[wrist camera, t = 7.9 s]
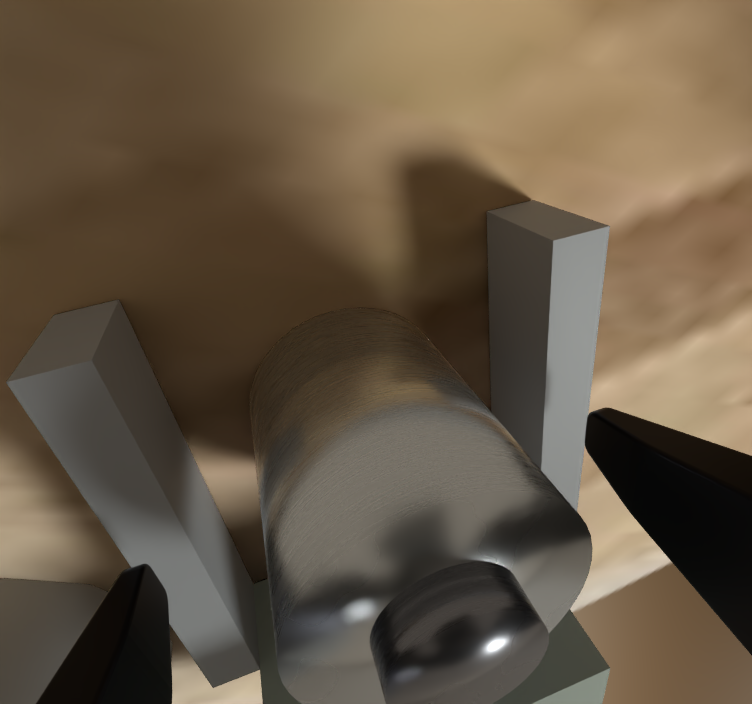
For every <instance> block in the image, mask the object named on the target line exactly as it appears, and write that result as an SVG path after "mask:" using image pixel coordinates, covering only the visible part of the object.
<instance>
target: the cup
mask: <svg viewBox="0 0 752 704" xmlns="http://www.w3.org/2000/svg"><path fill="white" fill-rule="evenodd" d="M107 593H108V592H107V591H105V590H102V589H100V588H97V587H95V586H93V585H90V584H78V583H64V582H50V581H36V580H22V579H8V578H4V579H0V704H36V702H37V701H38V699H39V698H40V696H41V695H42V693H43V692H44V690H45V688H46V687H47V685H48V684H49V682H50V681H51V679H52V678H53V676H54V675H55V673H56V672H57V670H58V668H59V667H60V665H61V664H62V662H63V661H64V659H65V658H66V656H67V655H68V653H69V651H70V650H71V648H72V647H73V645H74V644H75V642H76V641H77V639H78V638H79V636H80V635H81V633H82V631H83V630H84V628H85V627H86V625H87V624H88V622H89V621H90V619H91V618H92V616H93V615H94V613H95V611H96V610H97V608H98V607H99V605H100V604H101V602H102V601H103V599H104V598H105V596H106V595H107ZM172 644H173V643H172V641H171V640H170V648H171V658H172Z"/></svg>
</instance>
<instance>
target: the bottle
mask: <svg viewBox="0 0 752 704" xmlns="http://www.w3.org/2000/svg"><path fill="white" fill-rule="evenodd" d="M249 408H250V418H251V427H252V436H253V445H254V454H255V463H256V473H257V482H258V491H259V500H260V509H261V518H262V528H263V537H264V546H265V555H266V564H267V573H268V583H269V592H270V601H271V610H272V619H273V628H274V638H275V647H276V656H277V665H278V672H279V675H280V678H281V681H282V683H283V685H284V686H285V688H286V689H287V691H288V692H289V694H290V695H292V696H293V697H294V698H295V699H296V700H297V701H298V702H300V703H301V704H493V703H494V702H496V701H498V700H499V699H501V698H502V697H504V696H505V695H507V694H508V693H510V692H511V691H512V690H514V689H515V688H516V687H517V686H519V685H520V684H521V683H522V682H523V681H524V680H525V679H526V678H527V677H528V676H529V675H530V674H531V673H532V672H533V671H534V670H535V668H536V667H537V666H538V665H539V663H540V662H541V660H542V659H543V657H544V655H545V653H546V650H547V648H548V644H549V633H550V632H551V631H552V630H553V629H554V627H555V626H556V625H557V624H558V623H559V622H560V621H561V619H562V618H563V617H564V616H565V615H566V613H567V612H568V611H569V609H570V608H571V606H572V605H573V603H574V602H575V600H576V599H577V597H578V595H579V593H580V591H581V590H582V588H583V586H584V583H585V581H586V578H587V576H588V573H589V569H590V565H591V561H592V542H591V535H590V533H589V530H588V528H587V525H586V524H585V522H584V521H583V519H582V518H581V516H580V515H579V514H578V513H577V511H576V510H575V509H574V508H573V507H572V506H571V504H570V503H569V502H568V501H567V500H566V499H565V497H564V496H563V495H562V494H561V493H560V492H559V490H558V489H557V488H556V487H555V486H554V485H553V483H552V482H551V481H550V480H549V479H548V478H547V476H546V475H545V474H544V473H543V472H542V471H541V469H540V468H539V467H538V466H537V465H536V464H535V462H534V461H533V460H532V459H531V458H530V457H529V455H528V454H527V453H526V452H525V451H524V450H523V448H522V447H521V446H520V445H519V444H518V443H517V441H516V440H515V439H514V438H513V437H512V436H511V434H510V433H509V432H508V431H507V430H506V429H505V427H504V426H503V425H502V424H501V423H500V422H499V420H498V419H497V418H496V417H495V416H494V415H493V413H492V412H491V411H490V410H489V409H488V408H487V406H486V405H485V404H484V403H483V402H482V401H481V399H480V398H479V397H478V396H477V395H476V394H475V392H474V391H473V390H472V389H471V388H470V387H469V385H468V384H467V383H466V382H465V381H464V380H463V378H462V377H461V376H460V375H459V374H458V373H457V371H456V370H455V369H454V368H453V367H452V366H451V364H450V363H449V362H448V361H447V360H446V359H445V357H444V356H443V355H442V354H441V353H440V352H439V350H438V349H437V348H436V347H435V346H434V345H433V343H432V342H431V341H430V340H429V339H428V338H427V336H426V335H425V334H424V333H423V332H422V331H421V330H420V329H419V328H418V327H417V326H415V325H414V324H413V323H411V322H410V321H408V320H407V319H405V318H403V317H401V316H399V315H397V314H394V313H391V312H388V311H384V310H379V309H373V308H348V309H341V310H336V311H331V312H328V313H325V314H322V315H319V316H317V317H314V318H312V319H310V320H308V321H306V322H304V323H302V324H301V325H299V326H297V327H296V328H294V329H293V330H291V331H290V332H289V333H287V334H286V335H285V336H284V337H282V338H281V339H280V340H279V341H278V342H277V343H276V344H275V345H274V346H273V347H272V348H271V350H270V351H269V352H268V354H267V355H266V356H265V358H264V359H263V361H262V363H261V364H260V366H259V368H258V370H257V372H256V375H255V377H254V380H253V383H252V387H251V392H250V402H249Z"/></svg>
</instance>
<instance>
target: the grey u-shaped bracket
mask: <svg viewBox="0 0 752 704" xmlns="http://www.w3.org/2000/svg"><path fill="white" fill-rule="evenodd" d="M609 228H610V226H608V225H605V224H602V223H599V222H596V221H593V220H590V219H588V218H585V217H582V216H579V215H576V214H573V213H570V212H567V211H564V210H561V209H558V208H555V207H552V206H549V205H546V204H544V203H541V202H538V201H535V200H532V201H528V202H524V203H520V204H515V205H511V206H507V207H503V208H499V209H495V210H490V211H487V246H488V291H489V336H490V382H491V412H492V413H493V415H494V416H495V417H496V418H497V419H498V420H499V422H500V423H501V424H502V425H503V426H504V427H505V429H506V430H507V431H508V432H509V433H510V434H511V436H512V437H513V438H514V439H515V440H516V441H517V443H518V444H519V445H520V446H521V447H522V448H523V450H524V451H525V452H526V453H527V454H528V455H529V457H530V458H531V459H532V460H533V461H534V462H535V464H536V465H537V466H538V467H539V468H540V469H541V471H542V472H543V473H544V474H545V475H546V476H547V478H548V479H549V480H550V481H551V482H552V483H553V485H554V486H555V487H556V488H557V489H558V490H559V492H560V493H561V494H562V495H563V496H564V497H565V499H566V500H567V501H568V502H569V503H570V504H571V506H572V507H573V508H574V509H575V510H576V511H577V507H578V498H579V489H580V480H581V472H582V463H583V454H584V446H585V432H586V423H587V416H588V411H589V402H590V393H591V385H592V376H593V367H594V359H595V350H596V341H597V333H598V324H599V315H600V307H601V298H602V289H603V280H604V272H605V263H606V254H607V246H608V237H609ZM6 383H7V385H8V386H9V388H10V389H11V391H12V392H13V393H14V395H15V396H16V398H17V399H18V401H19V402H20V404H21V405H22V407H23V408H24V410H25V411H26V413H27V414H28V416H29V417H30V419H31V420H32V422H33V423H34V424H35V426H36V427H37V429H38V430H39V432H40V433H41V435H42V436H43V438H44V439H45V441H46V442H47V444H48V445H49V447H50V448H51V450H52V451H53V453H54V454H55V455H56V457H57V458H58V460H59V461H60V463H61V464H62V466H63V467H64V469H65V470H66V472H67V473H68V475H69V476H70V478H71V479H72V481H73V482H74V484H75V485H76V486H77V488H78V489H79V491H80V492H81V494H82V495H83V497H84V498H85V500H86V501H87V503H88V504H89V506H90V507H91V509H92V510H93V512H94V513H95V515H96V516H97V517H98V519H99V520H100V522H101V523H102V525H103V526H104V528H105V529H106V531H107V532H108V534H109V535H110V537H111V538H112V540H113V541H114V543H115V544H116V546H117V547H118V548H119V550H120V551H121V553H122V554H123V556H124V557H125V559H126V560H127V562H128V563H129V565H130V566H131V568H132V567H135V566H138V565H141V564H148V565H150V567H151V568H152V569H153V571H154V572H155V574H156V576H157V577H158V579H159V580H160V582H161V583H162V585H163V586H164V588H165V590H166V593H167V597H168V606H169V624H170V625H171V627H172V628H173V630H174V631H175V633H176V634H177V636H178V637H179V638H180V640H181V641H182V643H183V644H184V646H185V647H186V649H187V650H188V652H189V653H190V655H191V656H192V658H193V659H194V661H195V662H196V664H197V665H198V667H199V668H200V669H201V671H202V672H203V674H204V675H205V677H206V678H207V680H208V681H209V683H210V684H211V686H212V687H213V688H214V687H217V686H219V685H222V684H224V683H227V682H229V681H232V680H234V679H237V678H239V677H242V676H245V675H247V674H250V673H252V672H255V671H257V670H260V674H261V686H262V699H263V704H301V703H300V702H298V701H297V700H296V699H295V698H294V697H293V696H292V695H290V694H289V692H288V691H287V689H286V688H285V686H284V685H283V683H282V681H281V678H280V675H279V672H278V665H277V656H276V647H275V638H274V628H273V619H272V610H271V601H270V592H269V583H268V579H266V580H263V581H260V582H257V583H255V584H253V583H252V580H251V578H250V576H249V574H248V572H247V570H246V568H245V566H244V563H243V561H242V559H241V557H240V555H239V553H238V551H237V549H236V547H235V544H234V542H233V540H232V538H231V536H230V534H229V532H228V530H227V527H226V525H225V523H224V521H223V519H222V517H221V515H220V513H219V510H218V508H217V506H216V504H215V502H214V500H213V498H212V496H211V494H210V491H209V489H208V487H207V485H206V483H205V481H204V479H203V477H202V474H201V472H200V470H199V468H198V466H197V464H196V462H195V460H194V457H193V455H192V453H191V451H190V449H189V447H188V445H187V443H186V441H185V438H184V436H183V434H182V432H181V430H180V428H179V426H178V424H177V421H176V419H175V417H174V415H173V413H172V411H171V409H170V407H169V405H168V402H167V400H166V398H165V396H164V394H163V392H162V390H161V388H160V385H159V383H158V381H157V379H156V377H155V375H154V373H153V371H152V368H151V366H150V364H149V362H148V360H147V358H146V356H145V354H144V352H143V349H142V347H141V345H140V343H139V341H138V339H137V337H136V335H135V332H134V330H133V328H132V326H131V324H130V322H129V320H128V318H127V315H126V313H125V311H124V309H123V307H122V305H121V303H120V301H119V300H115V301H110V302H106V303H102V304H98V305H94V306H90V307H85V308H81V309H77V310H73V311H69V312H64V313H60V314H56V315H54V316H53V317H52V318H51V320H50V321H49V323H48V324H47V325H46V327H45V328H44V330H43V331H42V332H41V334H40V335H39V337H38V338H37V339H36V341H35V342H34V344H33V345H32V346H31V348H30V349H29V351H28V352H27V353H26V355H25V356H24V358H23V359H22V361H21V362H20V363H19V365H18V366H17V368H16V369H15V370H14V372H13V373H12V375H11V376H10V377H9V379H8V380H7V382H6ZM609 671H610V667H609V666H608V664H607V663H606V661H605V660H604V658H603V657H602V656H601V654H600V653H599V651H598V650H597V648H596V647H595V645H594V644H593V642H592V641H591V639H590V638H589V637H588V635H587V634H586V632H585V631H584V629H583V628H582V626H581V625H580V623H579V622H578V621H577V619H576V618H575V616H574V615H573V613H572V612H571V610H570V609H569V611H568V612H567V613H566V615H565V616H564V617H563V618H562V619H561V621H560V622H559V623H558V624H557V625H556V626H555V627H554V629H553V630H552V631H551V632H550V633H549V644H548V648H547V650H546V653H545V655H544V657H543V659H542V660H541V662H540V663H539V665H538V666H537V667H536V668H535V670H534V671H533V672H532V673H531V674H530V675H529V676H528V677H527V678H526V679H525V680H524V681H523V682H522V683H521V684H520V685H519V686H517V687H516V688H515V689H514V690H512V691H511V692H510V693H508V694H507V695H505V696H504V697H502V698H501V699H499V700H498V701H496V702H494V703H493V704H602V702H603V697H604V693H605V689H606V684H607V679H608V676H609Z"/></svg>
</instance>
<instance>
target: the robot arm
mask: <svg viewBox="0 0 752 704" xmlns="http://www.w3.org/2000/svg"><path fill="white" fill-rule="evenodd" d="M585 447H586V449H587V452H588V453H589V455H590V456H591V458H592V459H593V460H594V462H595V463H596V465H597V466H598V468H599V469H600V471H601V472H602V473H603V475H604V476H605V478H606V479H607V481H608V482H609V483H610V485H611V486H612V488H613V489H614V491H615V492H616V493H617V495H618V496H619V498H620V499H621V501H622V502H623V503H624V505H625V506H626V508H627V509H628V510H629V512H630V513H631V514H632V515H633V517H634V518H635V519H636V520H637V521H638V523H639V524H640V525H641V526H642V527H643V529H644V530H645V531H646V532H647V533H648V534H649V536H650V537H651V538H652V539H653V540H654V541H655V543H656V544H657V545H658V546H659V547H660V548H661V550H662V551H663V552H664V553H665V554H666V555H667V557H668V558H669V559H670V560H671V561H672V562H673V564H674V565H675V566H676V567H677V568H678V570H679V571H680V572H681V573H682V574H683V575H684V577H685V578H686V579H687V580H688V581H689V582H690V584H691V585H692V586H693V587H694V588H695V589H696V591H697V592H698V593H699V594H700V595H701V596H702V598H703V599H704V600H705V601H706V602H707V604H708V605H709V606H710V607H711V608H712V609H713V611H714V612H715V613H716V614H717V615H718V616H719V617H720V619H721V620H722V621H723V622H724V623H725V625H726V626H727V627H728V628H729V629H730V630H731V631H732V633H733V634H734V635H735V636H736V637H737V639H738V640H739V641H740V642H741V643H742V645H743V646H744V647H745V648H746V649H747V650H748V651H749V653H750V654H751V655H752V456H751V455H748V454H745V453H742V452H739V451H736V450H733V449H730V448H727V447H724V446H721V445H718V444H715V443H712V442H709V441H706V440H703V439H700V438H697V437H694V436H691V435H689V434H686V433H683V432H680V431H677V430H674V429H671V428H668V427H665V426H662V425H659V424H656V423H653V422H650V421H647V420H644V419H641V418H638V417H635V416H632V415H629V414H627V413H624V412H621V411H618V410H615V409H612V408H602V409H599V410H596V411H593V412H591V413H589V415H588V416H587V423H586V432H585ZM36 704H172V669H171V648H170V627H169V606H168V597H167V593H166V590H165V588H164V586H163V585H162V583H161V582H160V580H159V579H158V577H157V576H156V574H155V572H154V571H153V569H152V568H151V567H150V565H148V564H141V565H138V566H135V567H132V568H129V569H126V570H124V571H123V572H122V573H121V574H120V575H119V576H118V578H117V579H116V581H115V582H114V584H113V585H112V587H111V588H110V590H109V591H108V593H107V595H106V596H105V598H104V599H103V601H102V602H101V604H100V605H99V607H98V608H97V610H96V611H95V613H94V615H93V616H92V618H91V619H90V621H89V622H88V624H87V625H86V627H85V628H84V630H83V631H82V633H81V635H80V636H79V638H78V639H77V641H76V642H75V644H74V645H73V647H72V648H71V650H70V651H69V653H68V655H67V656H66V658H65V659H64V661H63V662H62V664H61V665H60V667H59V668H58V670H57V672H56V673H55V675H54V676H53V678H52V679H51V681H50V682H49V684H48V685H47V687H46V688H45V690H44V692H43V693H42V695H41V696H40V698H39V699H38V701H37V702H36Z"/></svg>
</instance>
